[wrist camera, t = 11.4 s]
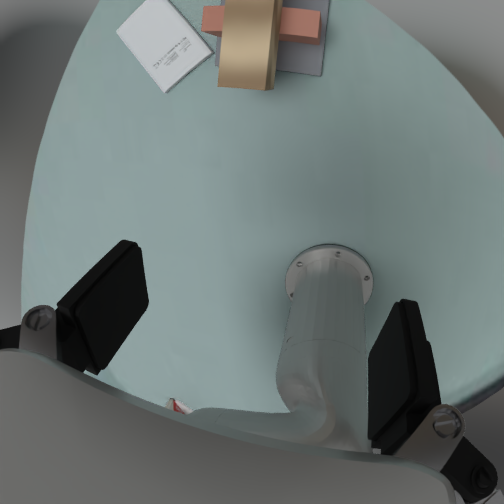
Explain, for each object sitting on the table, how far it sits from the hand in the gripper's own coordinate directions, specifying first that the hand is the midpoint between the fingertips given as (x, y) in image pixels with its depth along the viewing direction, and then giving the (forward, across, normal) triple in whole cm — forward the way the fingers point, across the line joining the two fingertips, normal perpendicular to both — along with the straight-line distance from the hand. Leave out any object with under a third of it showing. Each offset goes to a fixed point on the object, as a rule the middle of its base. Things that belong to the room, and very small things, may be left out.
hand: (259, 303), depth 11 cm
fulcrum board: (+28, +6, -13) cm, 32 cm away
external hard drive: (+29, +20, -12) cm, 37 cm away
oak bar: (+21, +6, -13) cm, 26 cm away
